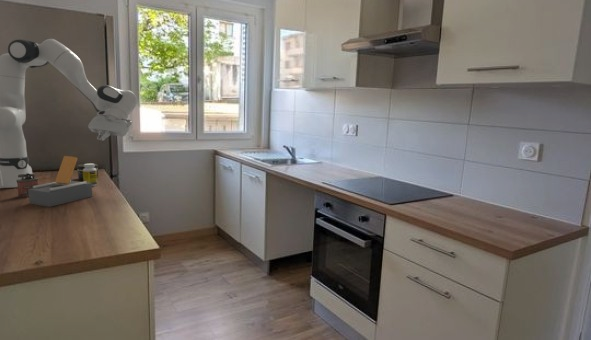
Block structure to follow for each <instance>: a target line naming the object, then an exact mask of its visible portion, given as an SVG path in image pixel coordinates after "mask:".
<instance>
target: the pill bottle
mask: <svg viewBox="0 0 591 340" xmlns="http://www.w3.org/2000/svg"><path fill="white" fill-rule="evenodd" d="M83 164H84V167H85V168H84V169H83V180H82V182H85V181H86V182H87V183H91V184H92V187H96V186H97V185H98V178H97V170H96V168H94V167H95V164H96V163H91V162H90V163H89V162H88V163H83Z"/></svg>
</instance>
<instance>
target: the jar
mask: <svg viewBox="0 0 591 340" xmlns="http://www.w3.org/2000/svg"><path fill="white" fill-rule="evenodd" d="M84 164H85V163H83V164H82V163H81V164H78V165H77V166H76V167H77V168H76V169H77V177H78V179H79V180H80V181H83V169H84V168H85V167H84ZM94 164H95V167H94V168H96V170H97V179H98V177H99V165H98V164H96V163H94Z"/></svg>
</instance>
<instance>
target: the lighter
mask: <svg viewBox="0 0 591 340" xmlns="http://www.w3.org/2000/svg"><path fill="white" fill-rule="evenodd" d="M35 175H36V174H35V173H32V174H29V173H26V174H19V175H18V177H22V179H18V180H16V181H17V186H18V187H17V192H18V194H17V197H18V198H21V197H22V198H23V197H24V196H26V197H29V192H28V189H33V186H36V185H39V177H35ZM31 176H32V177H31ZM24 177H25V179H24ZM24 198H25V197H24Z"/></svg>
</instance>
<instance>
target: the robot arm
mask: <svg viewBox="0 0 591 340" xmlns="http://www.w3.org/2000/svg"><path fill="white" fill-rule="evenodd" d="M7 51H8V52H7V53H3V54H1V55H0V189H5V188H6V189H9V188H10V189H11V188H18V186H17V181H16V180H18V179H22V177H18V175H19V174H26V173H29V174H33V169H32V166H31V165H29V163H30V161H29V160H30V159H29V156H28V152H27V151H28V150H27V141H26V138H25V135H24V130H23V125H24V124H25V122H26V119H27V118H26V117H27V116H26V115H27V114H26V113H27V112H26V98H25V97H26V96H25V91H26V90H25V89H26V87H25V85H26V71H27V69H28V68H31V69H33V68H40V67H45V66H47V65H48V64H51V66H53V67H54V68H55V69H56V70H57V71H59V72H60V73H61V74H62V75H63V76H64V77H65V78H66V79H67V80H68V81H69V82H70V83H71V84H72V85H73V86H74V87H75V88H76V89H77V90H78V91H79V92H80V93H81V94H82V95H83V96H84V97H85V98H86V99H87V100H88V101H90V103H91V104H92V106H93V108H94V109H95V111H96V112H97V113H96V115H95V116H94V117H92V119H91V120H90V122H89V123H88V125H87V128H88V129H89V131H91V132H92V133H98V135H97V137H96V139H97V140H99V141H105V140H106V139H107V138H109V137H110V136H111V135H112V136H116V137H117V136H118V137H125V136H126V135H127V133H128V132H129V129H130V127H131V125H132V120H130V119H128V117H129V115H130V114H132V113H133V111H134V110H135V108H136V106H137V104H138V96H136V94H135V93H134V92H133V91H131V90H129V89H119V88H115V87H114V86H112V85H109V84H103V85H101V86H98V88H97V89H96V88H95V87H94V85H92V84H91V83H90V81H89V80H88V78H87V75H86V71H85V67H84V64H83V62H82V60H81V59H80V57H79V56H78V55H77V54H76V53H74V51H72V50H71V49H70V48H68V47H67V46H66V45H64V44H63V43H62V42H60V41H58V40H56V39H54V38H48V39H45V40H44V41H42V42H41V43H37V42H34V41H30V40H27V39H14V40H12V41H10V43H9V44H8V47H7ZM31 177H32V176H31ZM24 179H25V177H24Z"/></svg>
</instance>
